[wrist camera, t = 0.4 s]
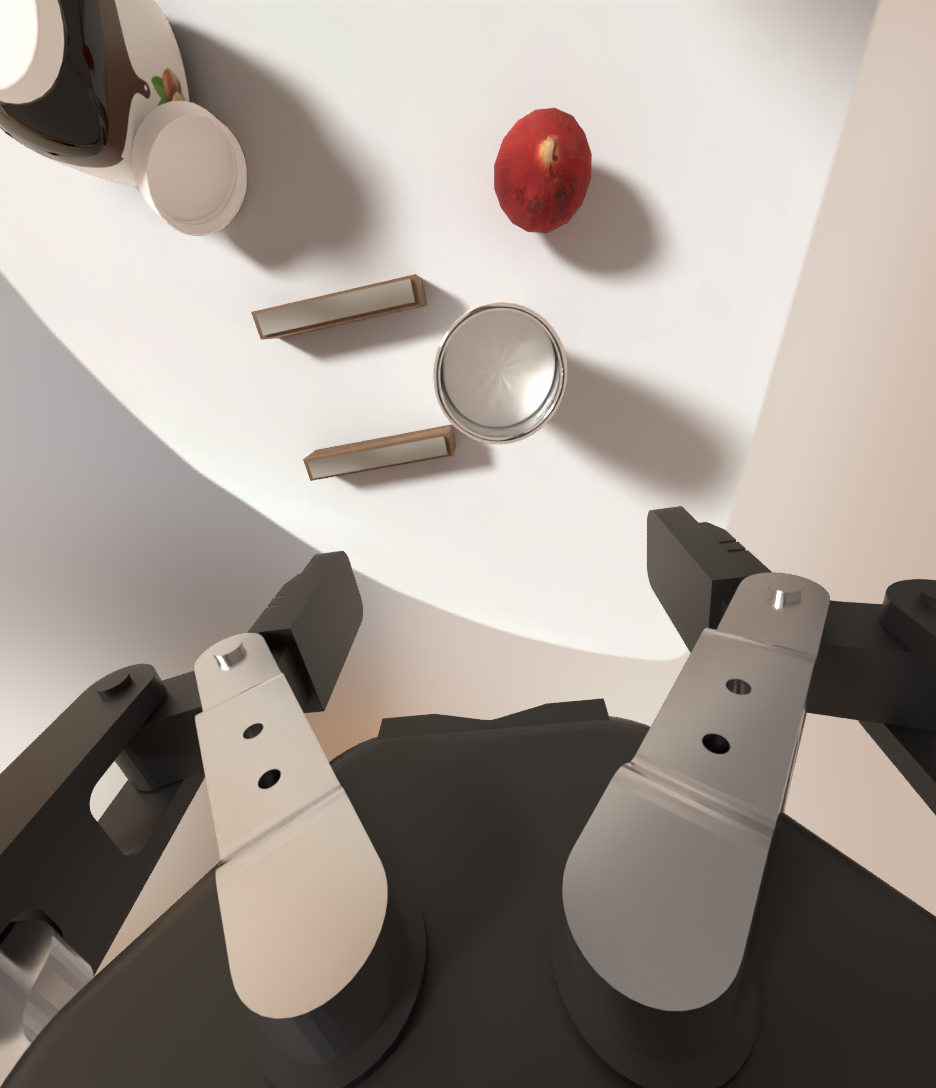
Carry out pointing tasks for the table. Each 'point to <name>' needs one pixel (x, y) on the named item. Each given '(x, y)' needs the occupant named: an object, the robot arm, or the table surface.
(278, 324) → the cradle
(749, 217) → the table surface
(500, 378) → the beer glass
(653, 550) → the robot arm
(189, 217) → the spread jar
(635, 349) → the table surface
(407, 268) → the table surface
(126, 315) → the table surface
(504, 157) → the onion
